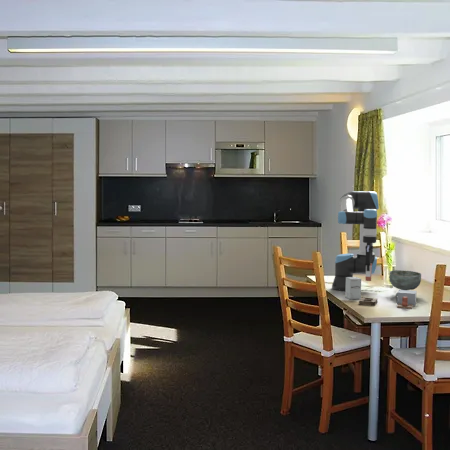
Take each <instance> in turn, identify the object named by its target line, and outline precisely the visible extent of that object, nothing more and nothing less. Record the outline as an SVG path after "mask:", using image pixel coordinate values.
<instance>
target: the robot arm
mask: <svg viewBox="0 0 450 450" xmlns="http://www.w3.org/2000/svg"><path fill="white" fill-rule="evenodd" d="M378 197H379V196H378V193H377V192H376V191H370V190H369V191H368V190H367V191H365V190H364V191H363V190H361V191H360V190H359V191H356V190H353V191H348V192H346V193H345V194H343V195H342V196H340V199H339V203H338V204H339V206H340V211H338V212H337V223H338V224H341V225H359V251H358V252H356V255H354V253H340V254H337V255H336V256H335V260H334V264H335V267H334V278H333V282H332V284H331V289H332V290H334V291H341V292H343V291H344V292H345V289H346V277H354V274H355V275H365V278H366V277H371V278H372V275H373V274H375V272H376V269H377V263H378V256H376V254H375V252H374V251H373V250H374V244H376V243H377V234H378V233H377V231H378V228H377V224H378V222H377V221H378V210H380V207H379V198H378ZM354 210H357V211H354ZM371 264H372V269H371Z"/></svg>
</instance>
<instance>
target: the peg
mask: <svg viewBox="0 0 450 450" xmlns="http://www.w3.org/2000/svg"><path fill="white" fill-rule="evenodd" d="M371 269H372V264H371ZM371 281H372V276H371V277H366V276H365V282H371Z"/></svg>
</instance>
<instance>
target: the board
mask: <svg viewBox="0 0 450 450" xmlns="http://www.w3.org/2000/svg"><path fill="white" fill-rule="evenodd" d="M413 307H414V306H413V304H408V297H402V304H400V303H399V304H397V305H396V308H397V309H409V310H410V309H411V310H412V309H413Z"/></svg>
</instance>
